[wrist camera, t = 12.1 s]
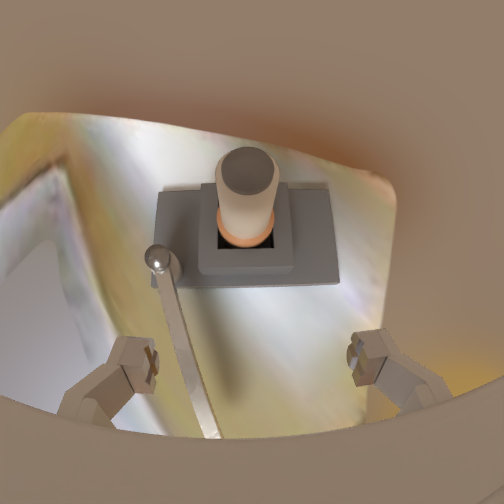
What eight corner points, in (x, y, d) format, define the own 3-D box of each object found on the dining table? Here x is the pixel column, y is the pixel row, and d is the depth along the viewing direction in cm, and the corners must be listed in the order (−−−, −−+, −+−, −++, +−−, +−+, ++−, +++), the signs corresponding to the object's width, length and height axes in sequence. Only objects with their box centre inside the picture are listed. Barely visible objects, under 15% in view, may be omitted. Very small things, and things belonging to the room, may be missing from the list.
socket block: (154, 288, 27) (140, 279, 23) (160, 196, 30) (150, 176, 26) (336, 284, 28) (351, 275, 24) (325, 194, 31) (336, 174, 27)
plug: (219, 258, 27) (206, 203, 16) (220, 212, 29) (209, 138, 18) (270, 257, 27) (290, 202, 16) (268, 211, 29) (283, 137, 18)
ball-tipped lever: (149, 255, 24) (142, 248, 22) (171, 248, 24) (165, 241, 22) (211, 457, 19) (209, 467, 17) (234, 452, 19) (234, 462, 17)
